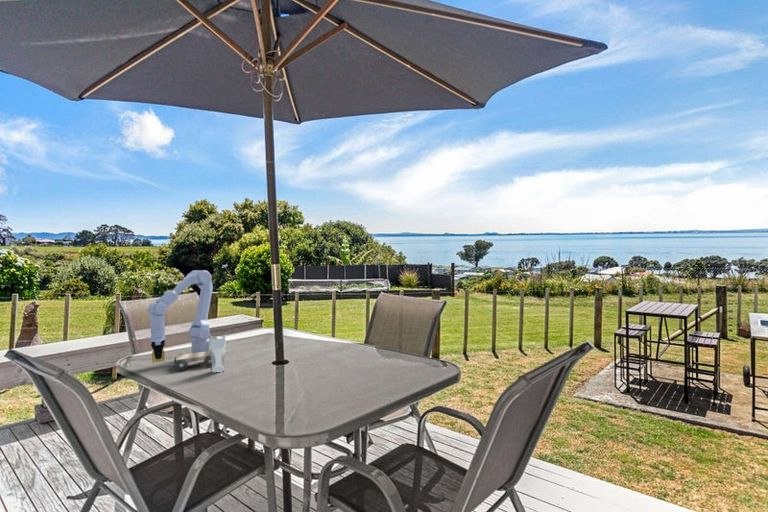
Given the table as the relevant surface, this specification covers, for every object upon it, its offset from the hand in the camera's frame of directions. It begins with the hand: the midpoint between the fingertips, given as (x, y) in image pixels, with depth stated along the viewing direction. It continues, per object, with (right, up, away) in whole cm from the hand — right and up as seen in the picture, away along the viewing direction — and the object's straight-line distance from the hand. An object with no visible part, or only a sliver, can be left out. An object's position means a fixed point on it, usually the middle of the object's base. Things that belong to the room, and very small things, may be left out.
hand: (158, 357), depth 181 cm
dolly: (+17, -4, +1) cm, 17 cm away
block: (0, -2, 0) cm, 2 cm away
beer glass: (+31, -4, -8) cm, 32 cm away
